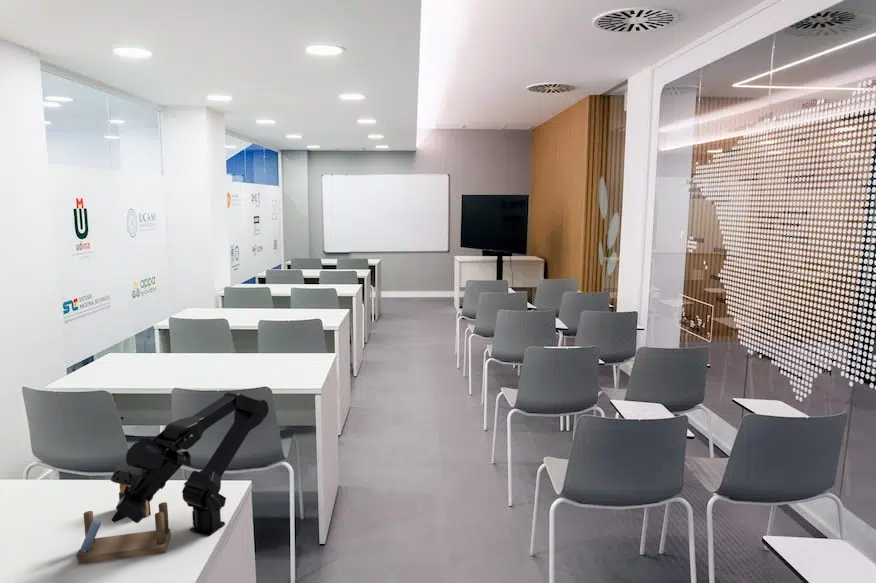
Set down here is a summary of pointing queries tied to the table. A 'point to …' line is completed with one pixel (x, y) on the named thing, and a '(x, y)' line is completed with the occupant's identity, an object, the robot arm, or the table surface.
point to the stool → (128, 541)
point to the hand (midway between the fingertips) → (113, 520)
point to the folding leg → (90, 536)
